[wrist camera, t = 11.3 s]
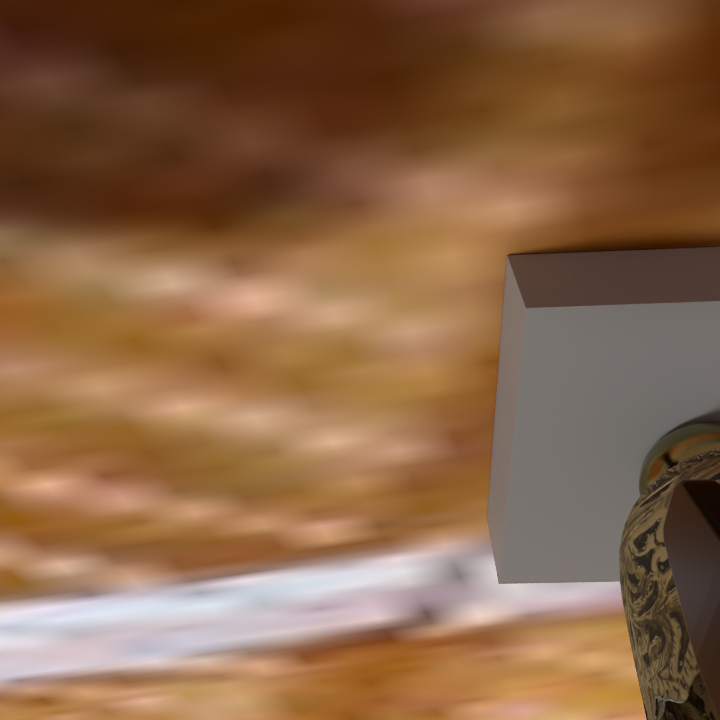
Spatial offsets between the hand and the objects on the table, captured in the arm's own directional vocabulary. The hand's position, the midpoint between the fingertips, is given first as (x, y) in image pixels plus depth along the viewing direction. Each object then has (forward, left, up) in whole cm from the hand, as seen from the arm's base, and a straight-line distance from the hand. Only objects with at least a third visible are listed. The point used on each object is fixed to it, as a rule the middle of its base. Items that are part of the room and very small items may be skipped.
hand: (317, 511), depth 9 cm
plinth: (+10, -8, -12) cm, 18 cm away
